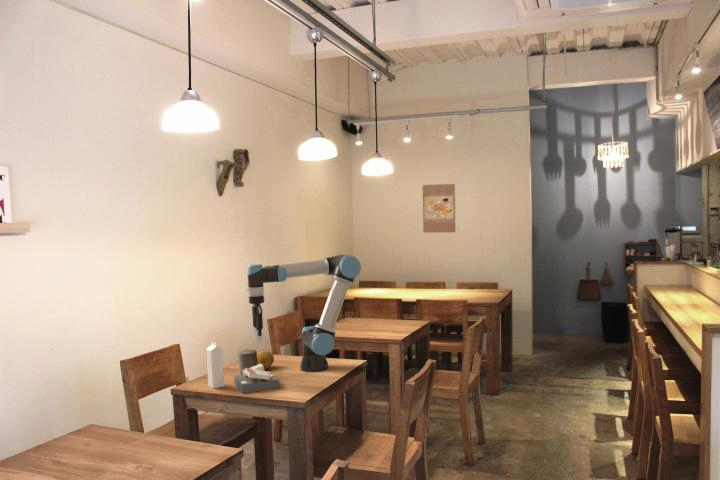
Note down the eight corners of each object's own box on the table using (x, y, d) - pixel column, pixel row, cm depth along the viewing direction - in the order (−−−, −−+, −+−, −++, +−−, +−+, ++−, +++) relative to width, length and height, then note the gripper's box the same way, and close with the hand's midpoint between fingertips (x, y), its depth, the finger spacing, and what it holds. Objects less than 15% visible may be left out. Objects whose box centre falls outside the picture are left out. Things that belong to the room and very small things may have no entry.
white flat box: (266, 377, 293) (267, 372, 294) (269, 379, 289) (270, 374, 289) (246, 375, 290) (247, 370, 290) (249, 377, 285) (249, 372, 285)
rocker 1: (262, 367, 305) (260, 363, 305) (264, 369, 300) (262, 364, 300) (243, 374, 302) (241, 370, 301) (245, 376, 297) (243, 372, 297)
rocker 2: (264, 374, 299) (264, 370, 299) (266, 376, 295) (267, 372, 295) (244, 372, 296) (245, 367, 296) (246, 374, 291) (247, 369, 291)
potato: (253, 371, 325) (252, 353, 325) (257, 366, 338) (256, 348, 337) (272, 371, 325) (271, 352, 325) (275, 365, 338) (274, 347, 337)
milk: (213, 388, 294) (210, 344, 293) (208, 386, 299) (205, 342, 298) (224, 386, 297) (222, 342, 297) (219, 384, 302) (217, 340, 302)
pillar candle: (261, 375, 315) (260, 347, 315) (251, 380, 306) (249, 351, 306) (246, 374, 319) (245, 346, 319) (235, 379, 311) (233, 350, 310)
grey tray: (269, 379, 307) (269, 369, 307) (279, 387, 290) (278, 377, 290) (234, 384, 301) (234, 374, 301) (241, 393, 283) (241, 382, 283)
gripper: (245, 294, 308) (247, 339, 309) (252, 297, 292) (254, 345, 292) (259, 293, 311) (262, 337, 311) (267, 296, 294) (270, 343, 295)
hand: (258, 341), depth 302 cm, fingers open, 4 cm apart
